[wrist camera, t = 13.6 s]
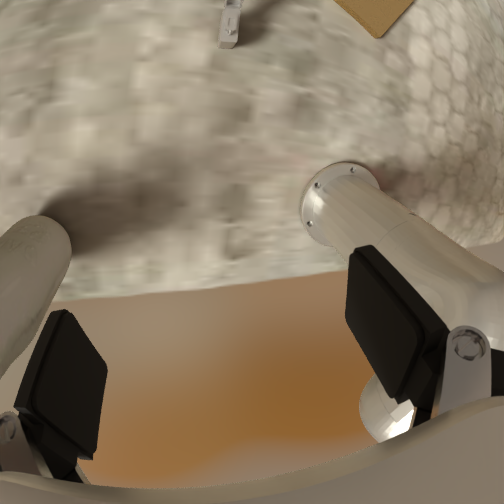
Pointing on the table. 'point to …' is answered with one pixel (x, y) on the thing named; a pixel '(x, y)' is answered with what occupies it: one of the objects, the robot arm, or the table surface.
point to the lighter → (229, 24)
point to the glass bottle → (29, 280)
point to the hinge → (375, 13)
